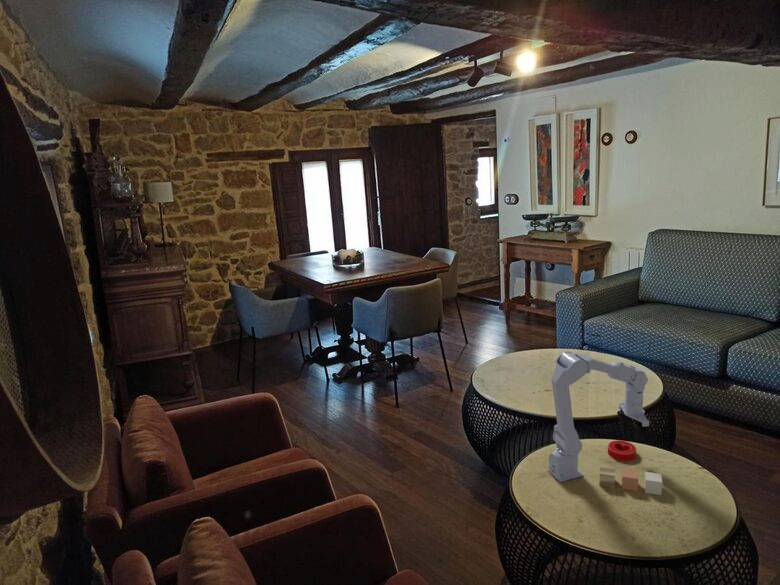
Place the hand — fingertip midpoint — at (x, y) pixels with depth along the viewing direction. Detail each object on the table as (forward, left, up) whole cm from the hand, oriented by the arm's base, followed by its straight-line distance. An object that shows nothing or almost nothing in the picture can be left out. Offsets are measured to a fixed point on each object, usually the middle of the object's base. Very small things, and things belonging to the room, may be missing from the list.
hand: (632, 435), depth 192 cm
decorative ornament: (0, +5, -10) cm, 11 cm away
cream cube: (-6, -17, -10) cm, 20 cm away
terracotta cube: (-11, -12, -10) cm, 19 cm away
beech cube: (-17, -8, -10) cm, 21 cm away
